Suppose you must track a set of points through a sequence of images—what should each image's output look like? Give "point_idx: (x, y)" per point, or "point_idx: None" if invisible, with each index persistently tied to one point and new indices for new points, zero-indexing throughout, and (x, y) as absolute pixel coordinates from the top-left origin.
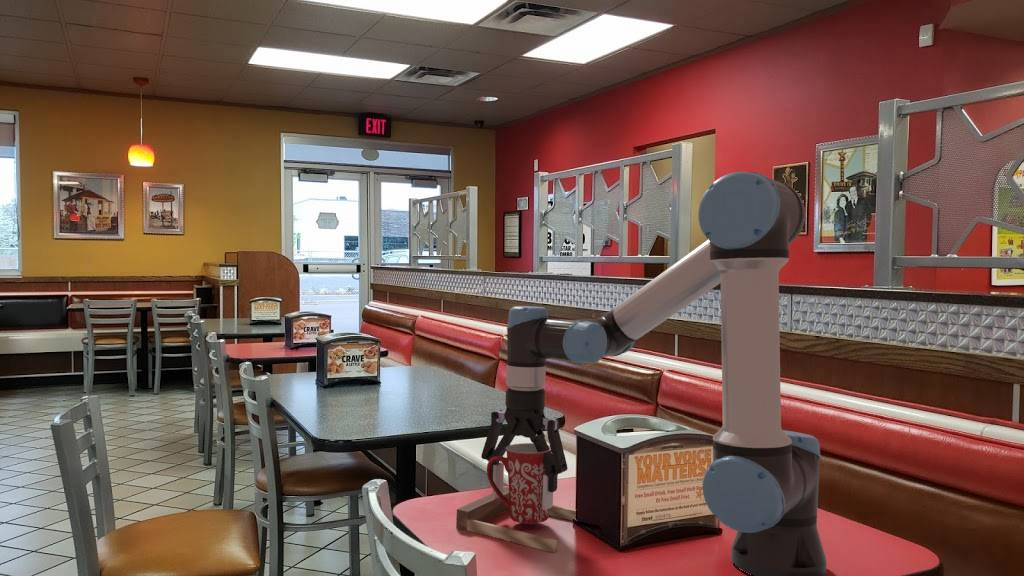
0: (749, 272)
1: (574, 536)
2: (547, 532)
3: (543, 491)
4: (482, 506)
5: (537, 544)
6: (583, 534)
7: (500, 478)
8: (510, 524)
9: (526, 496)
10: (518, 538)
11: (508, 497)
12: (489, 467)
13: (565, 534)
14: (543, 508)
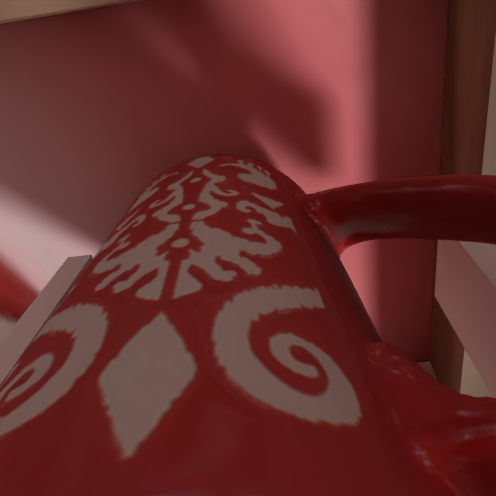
0: None
1: (7, 260)
2: (114, 222)
3: (36, 323)
4: (482, 116)
5: None
6: (5, 300)
7: (488, 345)
8: (309, 188)
9: (129, 226)
10: None
11: (452, 361)
12: None
13: (47, 254)
14: (81, 260)
